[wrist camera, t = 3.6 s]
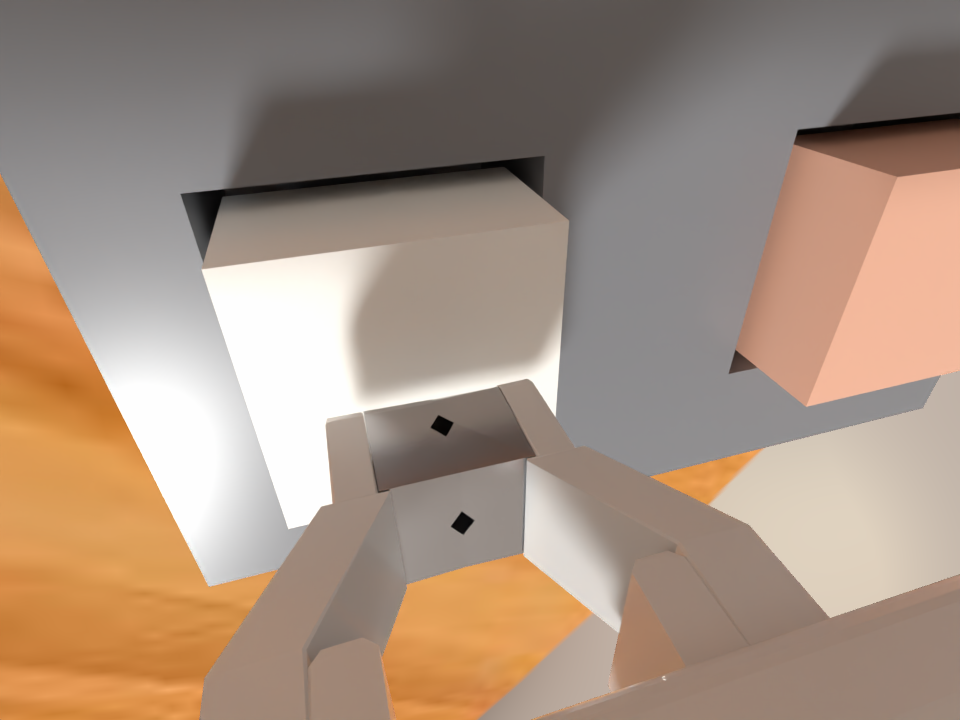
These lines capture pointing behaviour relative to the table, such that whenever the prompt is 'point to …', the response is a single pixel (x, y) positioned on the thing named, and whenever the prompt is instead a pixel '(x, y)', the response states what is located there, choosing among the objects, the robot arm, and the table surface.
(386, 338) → the white key
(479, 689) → the table surface
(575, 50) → the console
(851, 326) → the terracotta key
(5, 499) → the table surface
